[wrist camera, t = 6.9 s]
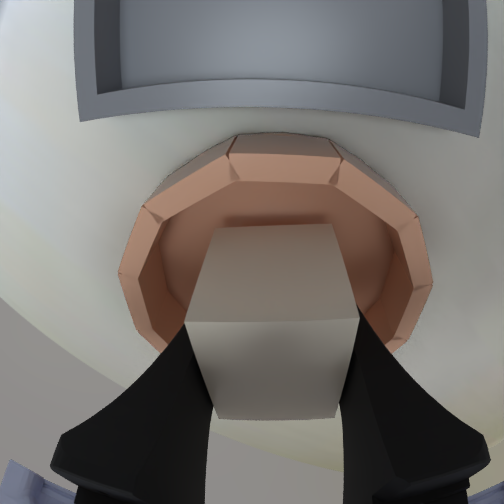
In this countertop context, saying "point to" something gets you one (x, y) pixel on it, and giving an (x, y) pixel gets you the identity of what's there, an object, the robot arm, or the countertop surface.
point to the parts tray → (285, 57)
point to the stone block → (273, 322)
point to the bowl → (276, 213)
